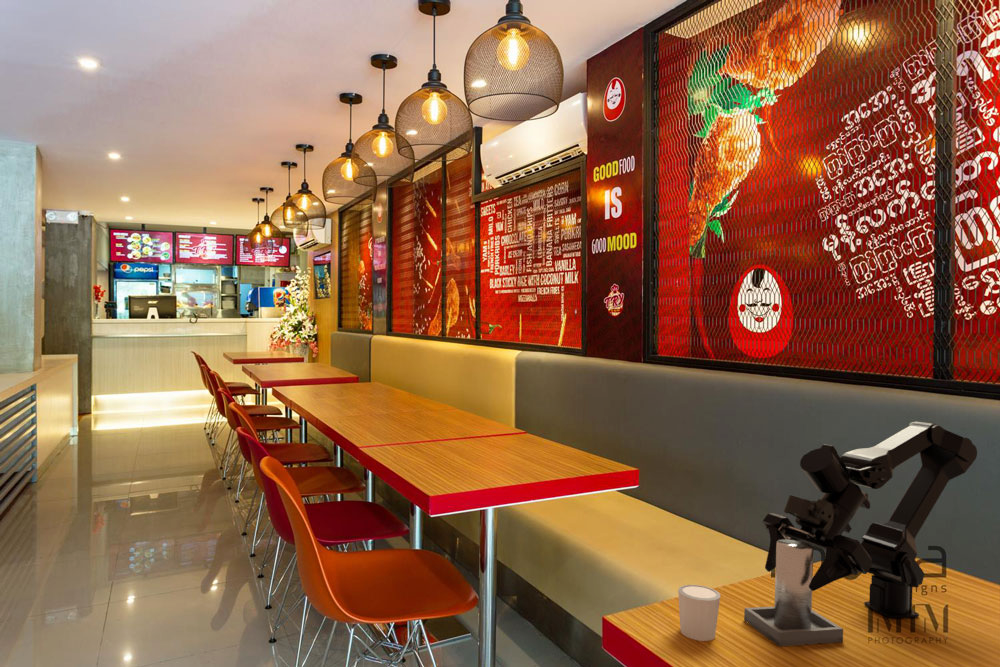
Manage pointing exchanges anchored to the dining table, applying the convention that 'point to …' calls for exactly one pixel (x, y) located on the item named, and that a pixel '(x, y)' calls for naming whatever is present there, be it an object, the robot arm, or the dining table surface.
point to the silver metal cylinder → (793, 585)
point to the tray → (818, 633)
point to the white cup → (698, 611)
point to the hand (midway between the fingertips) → (788, 579)
